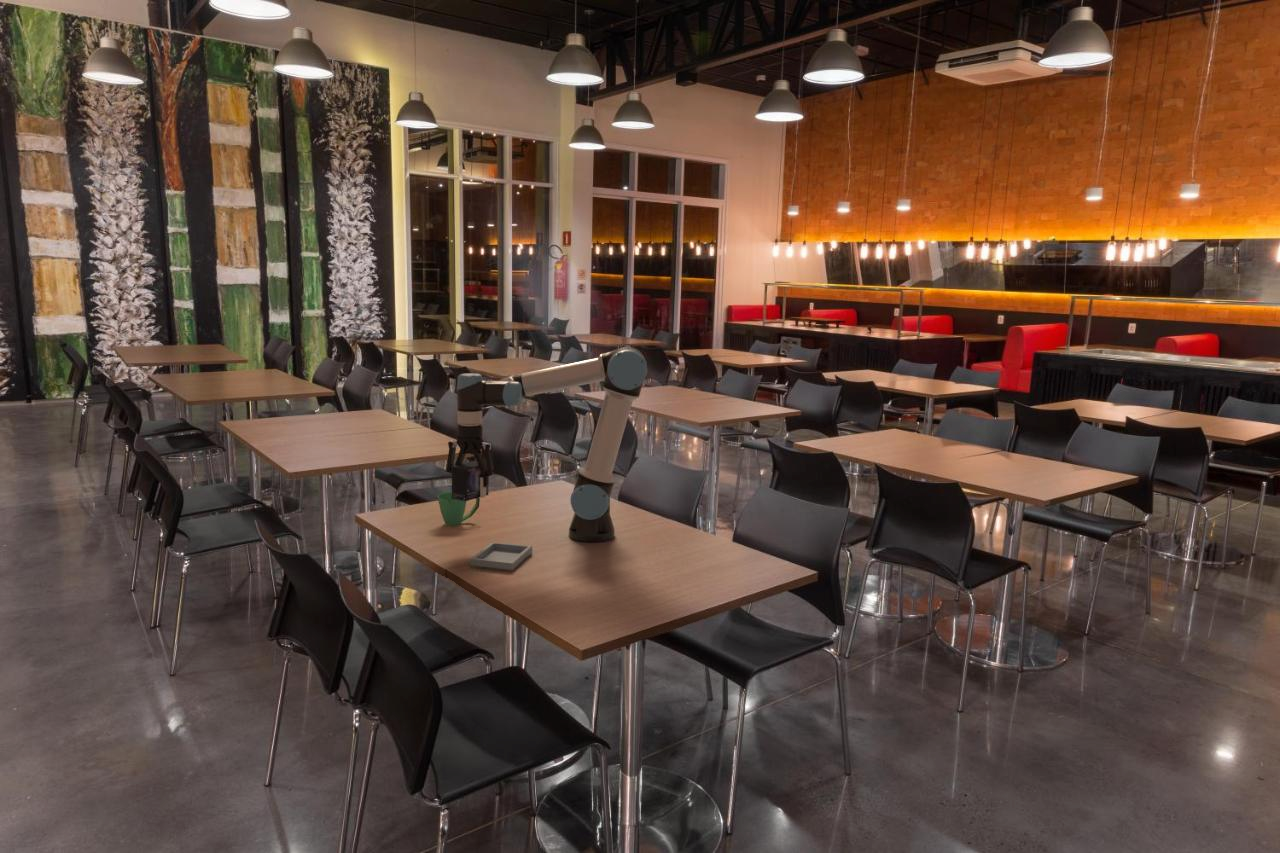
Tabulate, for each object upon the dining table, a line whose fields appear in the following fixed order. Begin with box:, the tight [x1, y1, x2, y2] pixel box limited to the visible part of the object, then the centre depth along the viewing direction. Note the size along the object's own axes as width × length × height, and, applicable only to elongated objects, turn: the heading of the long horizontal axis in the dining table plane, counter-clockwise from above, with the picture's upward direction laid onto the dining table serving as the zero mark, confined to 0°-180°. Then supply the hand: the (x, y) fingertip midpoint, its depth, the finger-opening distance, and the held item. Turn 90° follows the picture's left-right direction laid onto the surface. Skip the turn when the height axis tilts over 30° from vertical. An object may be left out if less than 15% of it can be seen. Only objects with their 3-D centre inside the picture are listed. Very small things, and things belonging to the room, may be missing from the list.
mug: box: [437, 491, 481, 527], centre depth 288 cm, size 15×10×10 cm
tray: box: [469, 541, 533, 573], centre depth 253 cm, size 13×17×2 cm
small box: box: [451, 460, 489, 502], centre depth 263 cm, size 11×6×10 cm, turn 149°
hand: (470, 495), depth 264 cm, fingers closed on small box, 8 cm apart
